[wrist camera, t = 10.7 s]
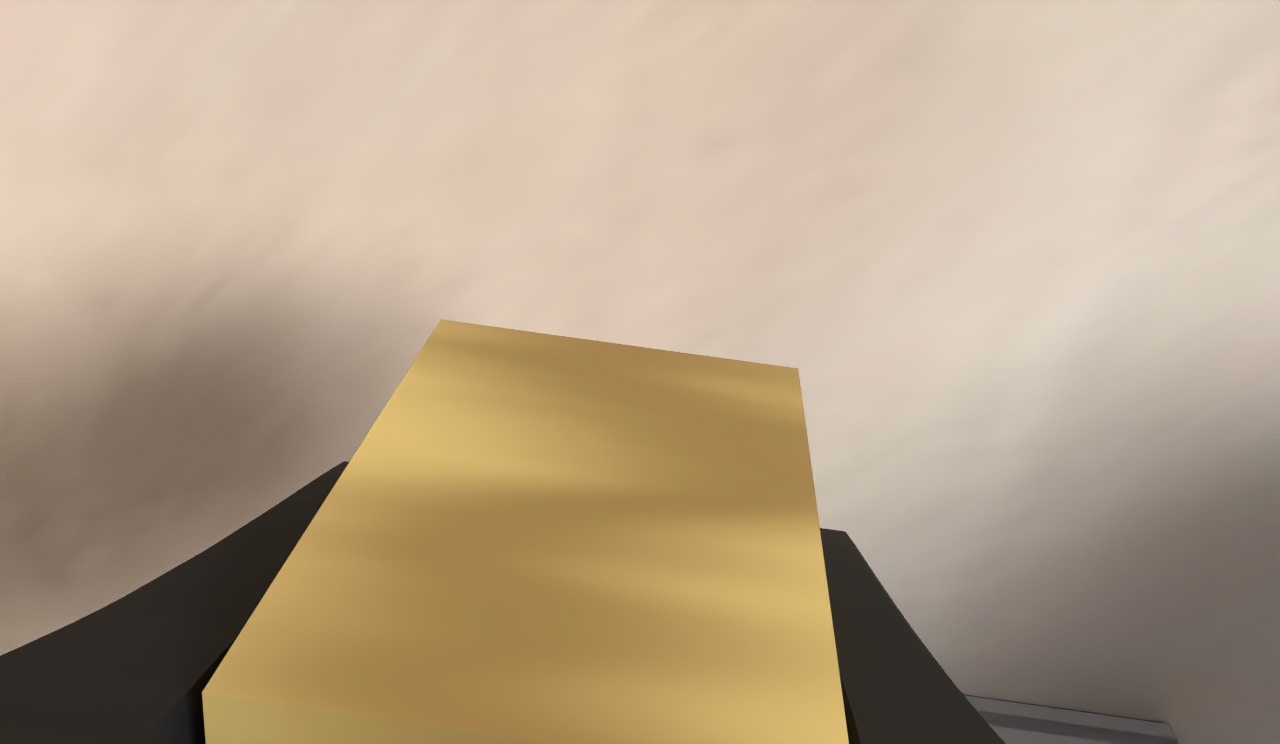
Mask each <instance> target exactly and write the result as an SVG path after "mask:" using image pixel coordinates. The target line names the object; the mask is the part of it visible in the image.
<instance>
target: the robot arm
mask: <svg viewBox="0 0 1280 744" xmlns="http://www.w3.org/2000/svg"><path fill="white" fill-rule="evenodd" d="M348 464H349V462H345V461H344V462H342V463H341V464H339V465H337V466H336V467H334V468H332V469H331V470H329V471H327V472H326V473H324V474H323V475H321V476H320V477H318V478H317V479H315V480H314V481H312V482H311V483H309V484H308V485H306V486H304V487H303V488H301V489H300V490H298V491H297V492H295V493H294V494H292V495H291V496H289V497H288V498H286V499H285V500H283V501H282V502H280V503H279V504H277V505H276V506H274V507H273V508H271V509H270V510H268V511H267V512H265V513H264V514H262V515H260V516H259V517H257V518H256V519H254V520H253V521H251V522H249V523H248V524H246V525H245V526H243V527H242V528H240V529H238V530H237V531H235V532H234V533H232V534H231V535H229V536H227V537H226V538H224V539H223V540H221V541H220V542H218V543H217V544H215V545H213V546H212V547H210V548H208V549H207V550H205V551H204V552H202V553H200V554H198V555H196V556H195V557H193V558H191V559H189V560H188V561H186V562H184V563H182V564H181V565H179V566H177V567H175V568H174V569H172V570H170V571H168V572H167V573H165V574H163V575H161V576H160V577H158V578H156V579H154V580H153V581H151V582H149V583H147V584H146V585H144V586H142V587H140V588H139V589H137V590H135V591H133V592H132V593H130V594H128V595H126V596H125V597H123V598H121V599H119V600H117V601H115V602H113V603H111V604H109V605H107V606H106V607H104V608H102V609H100V610H98V611H96V612H94V613H92V614H90V615H88V616H86V617H84V618H82V619H80V620H78V621H76V622H74V623H72V624H69V625H67V626H65V627H63V628H61V629H59V630H56V631H54V632H52V633H50V634H48V635H46V636H43V637H41V638H39V639H37V640H35V641H32V642H30V643H28V644H26V645H24V646H22V647H19V648H17V649H15V650H13V651H10V652H8V653H6V654H3V655H1V656H0V744H206V739H205V726H204V713H203V700H202V692H203V690H204V688H205V687H206V685H207V684H208V682H209V681H210V679H211V678H212V676H213V674H214V673H215V671H216V670H217V668H218V667H219V665H220V663H221V662H222V660H223V659H224V657H225V656H226V654H227V653H228V651H229V649H230V648H231V646H232V645H233V643H234V642H235V640H236V638H237V637H238V635H239V634H240V632H241V631H242V629H243V628H244V626H245V624H246V623H247V621H248V620H249V618H250V617H251V615H252V614H253V612H254V610H255V609H256V607H257V606H258V604H259V603H260V601H261V599H262V598H263V596H264V595H265V593H266V592H267V590H268V589H269V587H270V585H271V584H272V582H273V581H274V579H275V578H276V576H277V574H278V573H279V571H280V570H281V568H282V567H283V565H284V564H285V562H286V560H287V559H288V557H289V556H290V554H291V553H292V551H293V550H294V548H295V546H296V545H297V543H298V542H299V540H300V539H301V537H302V535H303V534H304V532H305V531H306V529H307V528H308V526H309V525H310V523H311V521H312V520H313V518H314V517H315V515H316V514H317V512H318V510H319V509H320V507H321V506H322V504H323V503H324V501H325V500H326V498H327V496H328V495H329V493H330V492H331V490H332V489H333V487H334V486H335V484H336V482H337V481H338V479H339V478H340V476H341V475H342V473H343V471H344V470H345V468H346V467H347V465H348ZM820 534H821V541H822V549H823V556H824V563H825V571H826V578H827V586H828V593H829V600H830V608H831V615H832V622H833V630H834V637H835V644H836V652H837V659H838V666H839V674H840V681H841V688H842V696H843V703H844V711H845V718H846V725H847V733H848V740H849V744H1006V743H1005V742H1004V741H1003V740H1002V739H1001V738H1000V737H999V736H998V735H997V733H996V732H995V731H994V730H993V729H992V728H991V727H990V725H989V724H988V723H987V722H986V721H985V720H984V718H983V717H982V716H981V715H980V714H979V713H978V711H977V710H976V709H975V708H974V707H973V706H972V704H971V703H970V702H969V701H968V700H967V699H966V697H965V696H964V695H963V694H962V693H961V692H960V690H959V689H958V688H957V687H956V686H955V684H954V683H953V682H952V681H951V679H950V678H949V677H948V676H947V674H946V673H945V672H944V670H943V669H942V668H941V666H940V665H939V664H938V662H937V661H936V660H935V658H934V657H933V656H932V654H931V653H930V652H929V650H928V649H927V648H926V646H925V645H924V644H923V643H922V641H921V640H920V639H919V637H918V636H917V635H916V633H915V632H914V630H913V629H912V628H911V626H910V625H909V623H908V622H907V621H906V619H905V618H904V616H903V615H902V614H901V612H900V611H899V609H898V608H897V606H896V605H895V603H894V602H893V601H892V599H891V598H890V596H889V595H888V593H887V592H886V590H885V589H884V587H883V586H882V585H881V583H880V582H879V580H878V579H877V577H876V576H875V574H874V573H873V571H872V570H871V568H870V567H869V565H868V564H867V562H866V561H865V559H864V558H863V556H862V555H861V553H860V552H859V550H858V549H857V547H856V546H855V544H854V543H853V542H852V540H851V539H850V537H849V536H848V535H847V533H846V532H844V531H837V530H830V529H822V528H820Z"/></svg>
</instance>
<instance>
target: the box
mask: <svg viewBox="0 0 1280 744" xmlns="http://www.w3.org/2000/svg"><path fill="white" fill-rule="evenodd" d="M964 696H965V697H966V699H967V700H968V701H969V702H970V703H971V704H972V706H973V707H974V708H975V709H976V710H977V711H978V713H979V714H980V715H981V716H982V717H983V718H984V720H985V721H986V722H987V723H988V724H989V725H990V727H991V728H992V729H993V730H994V731H995V732H996V733H997V735H998V736H999V737H1000V738H1001V739H1002V740H1003V741H1004V742H1005V743H1006V744H1179V743H1178V741H1177V739H1176V737H1175V735H1174V733H1173V731H1172V729H1171V727H1170V725H1169V724H1164V723H1157V722H1150V721H1143V720H1136V719H1129V718H1122V717H1115V716H1108V715H1100V714H1093V713H1086V712H1079V711H1072V710H1065V709H1058V708H1051V707H1044V706H1037V705H1030V704H1023V703H1015V702H1008V701H1001V700H994V699H987V698H980V697H973V696H966V695H964Z"/></svg>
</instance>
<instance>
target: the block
mask: <svg viewBox="0 0 1280 744" xmlns="http://www.w3.org/2000/svg"><path fill="white" fill-rule="evenodd" d="M202 700H203V713H204V726H205V739H206V744H849V740H848V733H847V725H846V718H845V711H844V703H843V696H842V688H841V681H840V674H839V666H838V659H837V652H836V644H835V637H834V630H833V622H832V615H831V608H830V600H829V593H828V586H827V578H826V571H825V563H824V556H823V549H822V541H821V534H820V527H819V519H818V512H817V505H816V497H815V490H814V483H813V475H812V468H811V461H810V453H809V446H808V438H807V431H806V424H805V416H804V409H803V402H802V394H801V387H800V380H799V372H798V369H797V368H790V367H782V366H775V365H768V364H761V363H753V362H746V361H739V360H731V359H724V358H717V357H710V356H702V355H695V354H688V353H680V352H673V351H666V350H658V349H651V348H644V347H637V346H629V345H622V344H615V343H607V342H600V341H593V340H586V339H578V338H571V337H564V336H556V335H549V334H542V333H535V332H527V331H520V330H513V329H505V328H498V327H491V326H484V325H476V324H469V323H462V322H454V321H447V320H440V322H439V323H438V325H437V326H436V328H435V329H434V331H433V333H432V334H431V336H430V337H429V339H428V340H427V342H426V343H425V345H424V347H423V348H422V350H421V351H420V353H419V354H418V356H417V358H416V359H415V361H414V362H413V364H412V365H411V367H410V368H409V370H408V372H407V373H406V375H405V376H404V378H403V379H402V381H401V382H400V384H399V386H398V387H397V389H396V390H395V392H394V393H393V395H392V397H391V398H390V400H389V401H388V403H387V404H386V406H385V407H384V409H383V411H382V412H381V414H380V415H379V417H378V418H377V420H376V422H375V423H374V425H373V426H372V428H371V429H370V431H369V432H368V434H367V436H366V437H365V439H364V440H363V442H362V443H361V445H360V446H359V448H358V450H357V451H356V453H355V454H354V456H353V457H352V459H351V461H350V462H349V464H348V465H347V467H346V468H345V470H344V471H343V473H342V475H341V476H340V478H339V479H338V481H337V482H336V484H335V486H334V487H333V489H332V490H331V492H330V493H329V495H328V496H327V498H326V500H325V501H324V503H323V504H322V506H321V507H320V509H319V510H318V512H317V514H316V515H315V517H314V518H313V520H312V521H311V523H310V525H309V526H308V528H307V529H306V531H305V532H304V534H303V535H302V537H301V539H300V540H299V542H298V543H297V545H296V546H295V548H294V550H293V551H292V553H291V554H290V556H289V557H288V559H287V560H286V562H285V564H284V565H283V567H282V568H281V570H280V571H279V573H278V574H277V576H276V578H275V579H274V581H273V582H272V584H271V585H270V587H269V589H268V590H267V592H266V593H265V595H264V596H263V598H262V599H261V601H260V603H259V604H258V606H257V607H256V609H255V610H254V612H253V614H252V615H251V617H250V618H249V620H248V621H247V623H246V624H245V626H244V628H243V629H242V631H241V632H240V634H239V635H238V637H237V638H236V640H235V642H234V643H233V645H232V646H231V648H230V649H229V651H228V653H227V654H226V656H225V657H224V659H223V660H222V662H221V663H220V665H219V667H218V668H217V670H216V671H215V673H214V674H213V676H212V678H211V679H210V681H209V682H208V684H207V685H206V687H205V688H204V690H203V692H202Z"/></svg>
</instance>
